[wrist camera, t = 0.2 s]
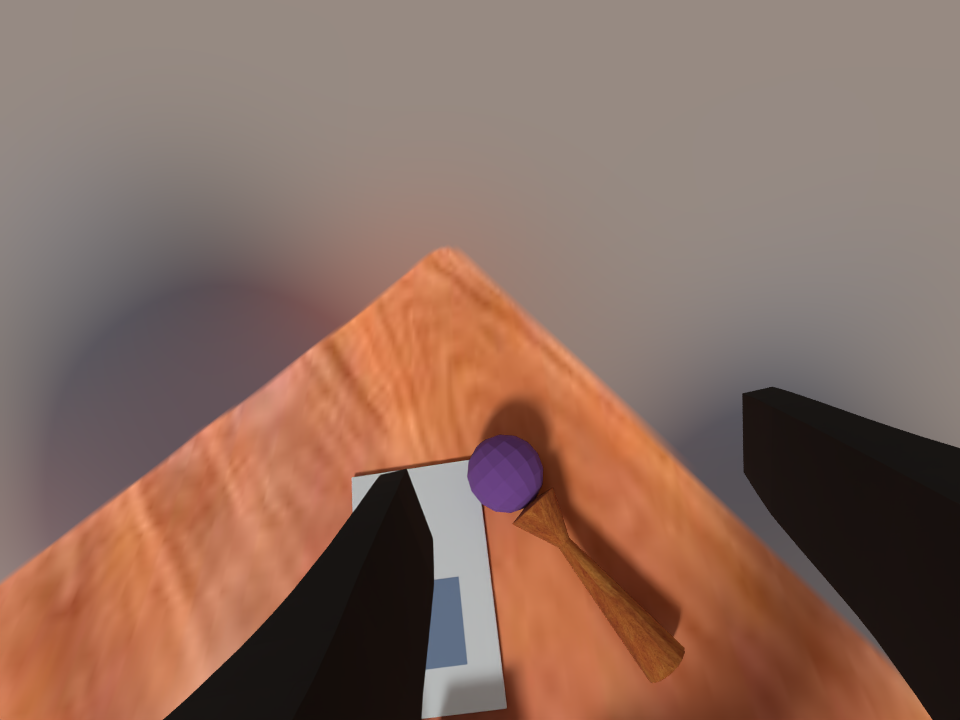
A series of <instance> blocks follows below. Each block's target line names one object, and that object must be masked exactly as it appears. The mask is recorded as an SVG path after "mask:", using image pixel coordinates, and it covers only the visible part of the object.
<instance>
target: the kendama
mask: <svg viewBox="0 0 960 720" xmlns="http://www.w3.org/2000/svg"><path fill="white" fill-rule="evenodd" d="M467 478H468V481H469V485H470V488H471V491H472V493H473V494H474V495H475V496H476V498H477V499H478V500H479V501H480V502H481V504H483V505H485V506H487V507H488V508H490V509H492V510H494V511H497V512H507V513H511V512H514V511H517V510H520V509H523V508H524V510H523V511H522V512H521V514H520V515H519V516H518V517H517V519H516V520H515V521H514V523H513V525H515V526H517V527H519V528H521V529H523V530H525V531H527V532H529V533H531V534H533V535H535V536H537V537H539V538H541V539H543V540H545V541H547V542H549V543H551V544H553V545H555V546H557V547H559V549H560V550H561V552H562V553H563V555H564V556H565V558H566V559H567V561H568V562H569V564H570V565H571V567H572V568H573V569H574V571H575V572H576V574H577V575H578V577H579V578H580V580H581V581H582V583H583V584H584V586H585V587H586V589H587V590H588V592H589V593H590V594H591V596H592V597H593V599H594V600H595V602H596V603H597V605H598V606H599V608H600V609H601V611H602V612H603V614H604V615H605V617H606V618H607V619H608V621H609V622H610V624H611V625H612V627H613V628H614V630H615V631H616V633H617V634H618V636H619V637H620V639H621V640H622V642H623V643H624V644H625V646H626V647H627V649H628V650H629V652H630V653H631V655H632V656H633V658H634V659H635V661H636V662H637V664H638V665H639V667H640V668H641V669H642V671H643V672H644V674H645V675H646V677H647V678H648V680H649V681H650V682H652V683H656V682H659V681H661V680H663V679H665V678H666V677H667V676H669V675H670V674H671V673H672V672H673V671H674V670H675V669H676V668H677V667H678V665H679V664H680V662H681V661H682V659H683V656H684V653H685V651H684V647H683V646H682V645H681V644H680V643H679V642H678V641H677V640H676V639H675V638H673V637H672V636H671V635H670V634H669V633H668V632H667V631H666V630H665V629H664V628H663V627H662V626H661V625H660V624H659V623H658V622H657V621H656V620H655V619H654V618H653V617H651V616H650V615H649V614H648V613H647V612H646V611H645V610H644V609H643V608H642V607H641V606H640V605H639V604H638V603H637V602H636V601H635V600H634V599H633V598H632V597H631V596H630V595H628V594H627V593H626V592H625V591H624V590H623V589H622V588H621V587H620V586H619V585H618V584H617V583H616V582H615V581H614V580H613V579H612V578H611V577H610V576H609V575H608V574H607V573H605V572H604V571H603V570H602V569H601V568H600V567H599V566H598V565H597V564H596V563H595V562H594V561H593V560H592V559H591V558H590V557H589V556H588V555H587V554H586V553H585V552H584V551H582V550H581V549H580V548H579V547H578V546H577V545H576V544H575V543H574V542H573V541H572V540H571V539H570V538H569V536H568V533H567V529H566V526H565V523H564V520H563V517H562V514H561V511H560V508H559V505H558V502H557V499H556V495H555V492H554V489H553V488H551V489H550V490H548V491H546V492H545V493H543V494H541V495H540V496H538V497H537V494H538V492H539V490H540V488H541V486H542V482H543V467H542V464H541V461H540V458H539V455H538V453H537V452H536V451H535V450H534V449H533V448H532V446H531V445H530V444H529V443H528V442H526V441H524V440H522V439H520V438H518V437H516V436H512V435H497V436H495V437H492V438H489V439H486V440H484V441H483V442H482V443H480V444H479V445H478V446H477V447H476V449H475V451H474V452H473V454H472V456H471V458H470V460H469V462H468V472H467ZM536 497H537V498H536Z"/></svg>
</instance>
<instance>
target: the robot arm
mask: <svg viewBox="0 0 960 720" xmlns="http://www.w3.org/2000/svg"><path fill="white" fill-rule="evenodd" d="M742 395H743V396H742V397H743V461H744V473H745V475H746V477H747V478H748V480H749V481H750V483H751V485H752V486H753V488H754V489H755V491H756V493H757V494H758V495H759V497H760V498H761V500H762V502H763V503H764V504H765V506H766V507H767V509H768V510H769V512H770V513H771V515H772V516H773V517H774V518H775V520H776V521H777V522H778V523H779V524H780V526H781V527H782V528H783V529H784V530H785V532H786V533H787V534H788V535H789V536H790V538H791V539H792V540H793V541H794V542H795V543H796V545H797V546H798V547H799V548H800V549H801V551H802V552H803V553H804V554H805V555H806V556H807V558H808V559H809V560H810V561H811V562H812V563H813V564H814V566H815V567H816V568H817V569H818V570H819V571H820V573H821V574H822V575H823V576H824V577H825V578H826V580H827V581H828V582H829V583H830V584H831V585H832V587H833V588H834V589H835V590H836V591H837V592H838V594H839V595H840V596H841V597H842V598H843V599H844V601H845V602H846V603H847V604H848V605H849V606H850V608H851V609H852V610H853V611H854V612H855V614H856V615H857V616H858V617H859V619H860V620H861V621H862V622H863V624H864V625H865V626H866V627H867V629H868V630H869V631H870V632H871V634H872V635H873V636H874V637H875V639H876V640H877V641H878V643H879V644H880V646H881V647H882V648H883V650H884V651H885V653H886V654H887V655H888V657H889V658H890V660H891V661H892V662H893V664H894V665H895V667H896V668H897V669H898V671H899V672H900V674H901V675H902V676H903V678H904V679H905V681H906V682H907V683H908V685H909V686H910V688H911V689H912V690H913V692H914V693H915V695H916V696H917V698H918V699H919V700H920V702H921V703H922V705H923V706H924V708H925V709H926V711H927V712H928V714H929V715H930V717H931V718H932V720H960V448H957V447H954V446H951V445H947V444H944V443H940V442H938V441H934V440H931V439H928V438H924V437H921V436H918V435H915V434H912V433H909V432H906V431H903V430H900V429H897V428H893V427H890V426H888V425H885V424H882V423H879V422H876V421H873V420H870V419H867V418H864V417H861V416H858V415H856V414H853V413H850V412H847V411H844V410H841V409H838V408H836V407H832V406H830V405H827V404H824V403H821V402H819V401H816V400H813V399H810V398H807V397H804V396H801V395H798V394H795V393H792V392H789V391H786V390H782V389H779V388H775V387H769V388H765V389H760V390H756V391H752V392H747V393H743V394H742ZM433 592H434V548H433V537H432V534H431V531H430V529H429V526H428V523H427V521H426V518H425V515H424V513H423V510H422V508H421V505H420V502H419V500H418V497H417V494H416V492H415V489H414V486H413V484H412V481H411V478H410V476H409V473H408V470H407V469H404V470H399V471H395V472H390V473H386V474H381V475H380V476H379V477H378V478H377V479H376V481H375V482H374V483H373V485H372V486H371V488H370V489H369V490H368V492H367V493H366V495H365V496H364V497H363V499H362V500H361V502H360V503H359V505H358V506H357V507H356V509H355V510H354V512H353V513H352V514H351V516H350V517H349V519H348V520H347V521H346V523H345V524H344V525H343V527H342V528H341V530H340V531H339V532H338V534H337V535H336V536H335V538H334V539H333V541H332V542H331V543H330V545H329V546H328V547H327V549H326V550H325V551H324V552H323V554H322V555H321V556H320V557H319V559H318V560H317V561H316V562H315V564H314V565H313V566H312V567H311V569H310V570H309V571H308V572H307V574H306V575H305V576H304V577H303V579H302V580H301V581H300V582H299V584H298V585H297V586H296V587H295V589H294V590H293V591H292V592H291V593H290V594H289V596H288V597H287V598H286V599H285V600H284V601H283V602H282V604H281V605H280V606H279V607H278V608H277V609H276V610H275V611H274V613H273V614H272V615H271V616H270V617H269V618H268V619H267V620H266V621H265V622H264V623H263V624H262V625H261V627H260V628H259V629H258V630H257V631H256V632H255V633H254V634H253V635H252V636H251V637H250V638H249V639H248V640H247V641H246V642H245V643H244V644H243V645H242V646H241V647H240V648H239V649H238V650H237V651H236V652H235V653H234V654H233V655H232V656H231V657H230V658H229V659H228V660H227V661H226V662H225V663H224V664H223V665H222V666H221V667H220V668H219V669H217V670H216V671H215V672H214V673H213V674H212V675H211V676H210V677H209V678H208V679H207V680H206V681H205V682H204V683H203V684H202V685H201V686H200V687H199V688H198V689H197V690H196V691H195V692H193V693H192V694H191V695H190V696H189V697H188V698H187V699H186V700H185V701H184V702H183V703H181V704H180V705H179V706H178V707H177V708H176V709H175V710H174V711H172V712H171V713H170V714H169V715H168V716H167V717H166V718H164V719H163V720H422V704H423V691H424V682H425V672H426V662H427V652H428V643H429V633H430V623H431V613H432V602H433Z"/></svg>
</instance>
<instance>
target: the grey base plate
mask: <svg viewBox="0 0 960 720" xmlns="http://www.w3.org/2000/svg"><path fill="white" fill-rule="evenodd" d="M468 462H469V460H465V461H458V462H452V463H445V464H438V465H432V466H425V467H419V468H412V469H407V470H408V473H409V476H410V478H411V481H412V484H413V486H414V489H415V492H416V494H417V497H418V500H419V502H420V505H421V508H422V510H423V513H424V515H425V518H426V521H427V523H428V526H429V529H430V531H431V534H432V537H433V548H434V592H433V602H432V613H431V623H430V633H429V643H428V652H427V662H426V672H425V682H424V691H423V704H422V719H424V718H432V717H441V716H449V715H457V714H465V713H474V712H482V711H490V710H499V709H507V703H506V694H505V686H504V678H503V670H502V662H501V654H500V646H499V638H498V630H497V622H496V614H495V606H494V598H493V590H492V582H491V574H490V566H489V558H488V550H487V542H486V534H485V526H484V518H483V510H482V504H481V502H480V501H479V500H478V499H477V498H476V496H475V495H474V494H473V493H472V491H471V488H470V485H469V481H468V478H467V472H468ZM392 472H395V471H392ZM386 473H390V472H385V473H379V474H372V475H366V476H359V477H352V506H353V512H354V510H355V509H356V507H357V506H358V505H359V503H360V502H361V500H362V499H363V497H364V496H365V495H366V493H367V492H368V490H369V489H370V488H371V486H372V485H373V483H374V482H375V481H376V479H377V478H378V477H379V476H380V475H381V474H386Z"/></svg>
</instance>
